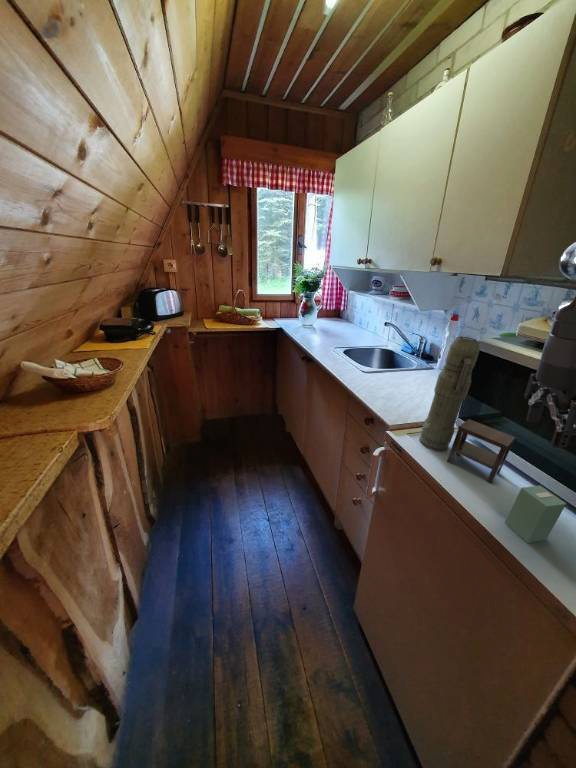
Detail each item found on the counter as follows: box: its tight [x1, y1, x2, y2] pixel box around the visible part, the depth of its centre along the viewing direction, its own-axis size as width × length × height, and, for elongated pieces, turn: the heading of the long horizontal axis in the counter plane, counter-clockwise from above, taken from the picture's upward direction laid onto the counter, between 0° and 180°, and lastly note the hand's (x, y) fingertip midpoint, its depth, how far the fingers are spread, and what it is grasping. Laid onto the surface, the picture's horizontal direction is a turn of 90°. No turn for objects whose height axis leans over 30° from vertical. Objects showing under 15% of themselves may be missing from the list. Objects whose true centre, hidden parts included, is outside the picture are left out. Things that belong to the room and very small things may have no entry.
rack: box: [446, 418, 516, 484], centre depth 87 cm, size 12×8×12 cm, turn 42°
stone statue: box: [419, 336, 480, 452], centre depth 93 cm, size 9×12×35 cm
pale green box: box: [504, 485, 567, 544], centre depth 66 cm, size 6×6×10 cm
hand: (544, 433), depth 62 cm, fingers open, 8 cm apart
